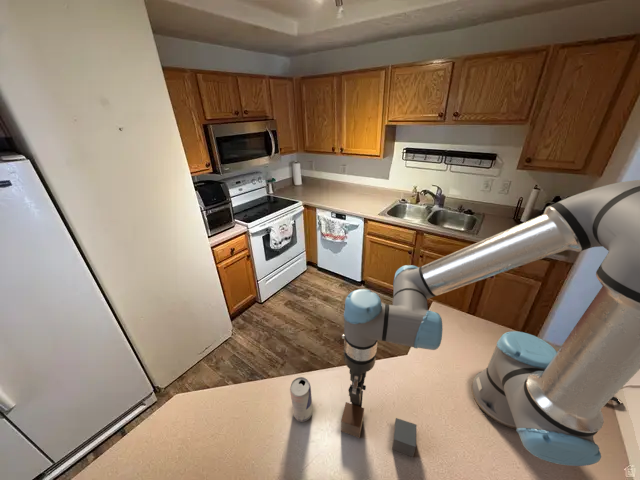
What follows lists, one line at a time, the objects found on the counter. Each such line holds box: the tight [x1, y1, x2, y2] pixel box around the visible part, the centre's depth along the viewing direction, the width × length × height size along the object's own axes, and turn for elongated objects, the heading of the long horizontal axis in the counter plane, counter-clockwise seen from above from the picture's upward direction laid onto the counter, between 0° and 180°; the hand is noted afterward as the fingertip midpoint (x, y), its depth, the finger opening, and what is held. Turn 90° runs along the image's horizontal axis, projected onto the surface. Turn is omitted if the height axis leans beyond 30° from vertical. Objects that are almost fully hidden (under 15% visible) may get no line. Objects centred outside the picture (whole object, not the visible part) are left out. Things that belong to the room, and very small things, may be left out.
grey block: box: [391, 417, 417, 458], centre depth 64 cm, size 5×5×5 cm
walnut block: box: [340, 401, 365, 439], centre depth 68 cm, size 5×5×5 cm
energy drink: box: [289, 376, 314, 423], centre depth 69 cm, size 5×5×12 cm
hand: (356, 405), depth 72 cm, fingers closed
